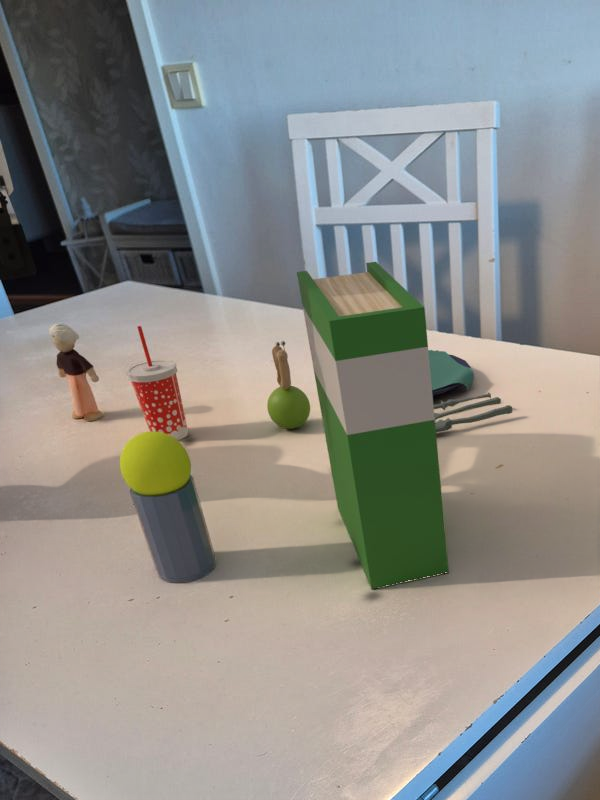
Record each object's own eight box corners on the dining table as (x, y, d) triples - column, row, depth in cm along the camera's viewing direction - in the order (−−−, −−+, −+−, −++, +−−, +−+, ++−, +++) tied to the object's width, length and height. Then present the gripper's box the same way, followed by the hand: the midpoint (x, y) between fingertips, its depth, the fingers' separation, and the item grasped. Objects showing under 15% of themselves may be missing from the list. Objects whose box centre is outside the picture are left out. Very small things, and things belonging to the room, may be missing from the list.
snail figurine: (277, 441, 107) (257, 345, 99) (268, 424, 111) (248, 332, 104) (319, 432, 108) (302, 338, 101) (308, 416, 113) (291, 325, 106)
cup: (154, 586, 80) (125, 501, 74) (160, 557, 84) (134, 475, 79) (214, 578, 80) (190, 492, 75) (217, 549, 85) (195, 467, 79)
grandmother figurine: (59, 420, 117) (24, 327, 109) (77, 410, 120) (45, 318, 112) (104, 424, 115) (72, 329, 107) (121, 413, 118) (92, 321, 110)
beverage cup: (164, 425, 113) (133, 318, 105) (203, 428, 112) (175, 320, 103) (136, 443, 109) (102, 333, 100) (177, 446, 107) (144, 335, 99)
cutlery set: (440, 355, 131) (439, 340, 130) (528, 416, 109) (528, 399, 107) (317, 379, 125) (314, 364, 123) (383, 450, 102) (381, 432, 101)
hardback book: (337, 507, 91) (296, 272, 76) (404, 495, 92) (375, 261, 78) (371, 589, 77) (329, 321, 63) (448, 572, 79) (424, 307, 64)
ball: (128, 515, 75) (105, 452, 71) (136, 487, 80) (115, 427, 76) (196, 504, 75) (177, 441, 72) (200, 477, 80) (182, 416, 77)
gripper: (-127, 38, 70) (-42, 257, 80) (-126, 33, 58) (-26, 293, 68) (-29, 33, 73) (41, 245, 83) (-8, 28, 61) (71, 277, 71)
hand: (11, 267), depth 76 cm, fingers open, 9 cm apart
